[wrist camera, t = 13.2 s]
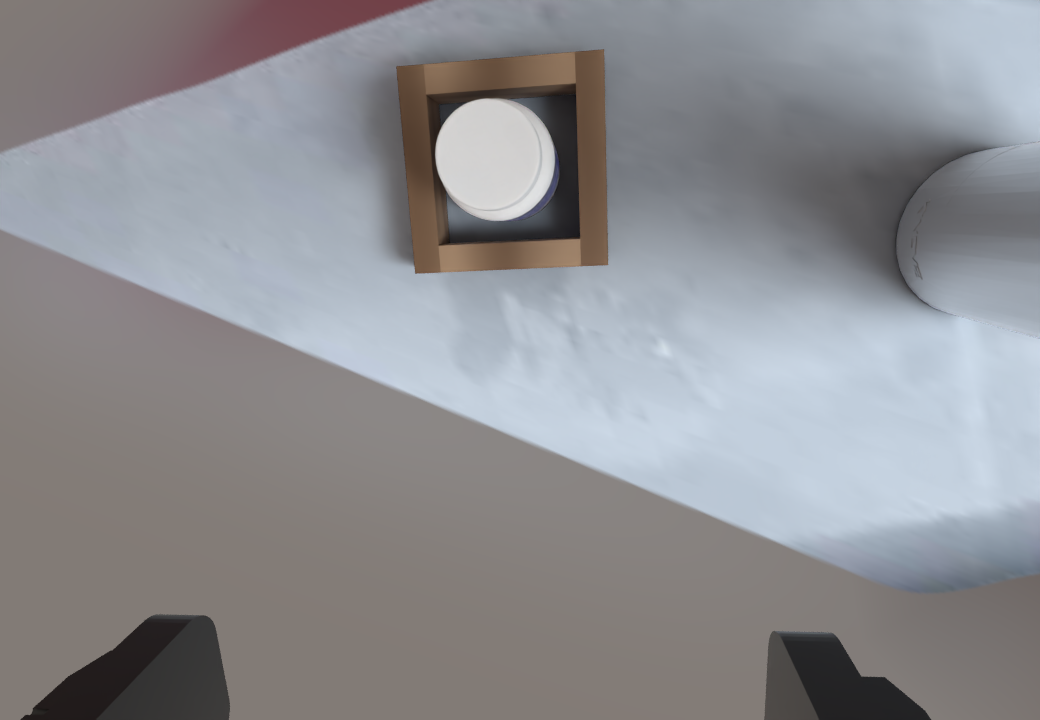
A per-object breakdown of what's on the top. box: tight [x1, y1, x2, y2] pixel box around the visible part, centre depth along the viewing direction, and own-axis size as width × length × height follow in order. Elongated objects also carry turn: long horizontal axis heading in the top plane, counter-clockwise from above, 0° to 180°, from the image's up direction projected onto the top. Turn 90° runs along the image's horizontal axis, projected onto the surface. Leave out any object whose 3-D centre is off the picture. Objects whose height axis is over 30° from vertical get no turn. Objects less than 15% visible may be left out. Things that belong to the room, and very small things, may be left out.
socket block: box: [396, 49, 608, 273], centre depth 34 cm, size 11×11×3 cm
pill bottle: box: [435, 98, 560, 221], centre depth 31 cm, size 6×6×10 cm
